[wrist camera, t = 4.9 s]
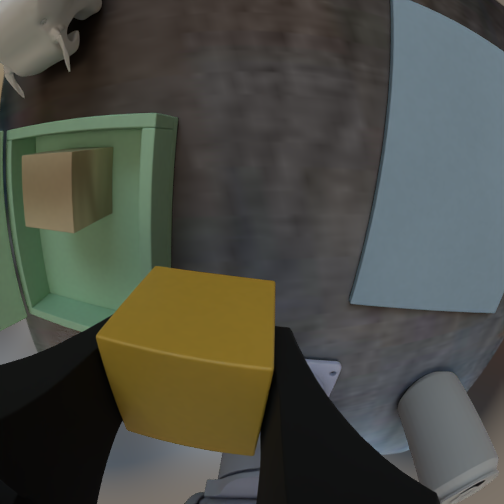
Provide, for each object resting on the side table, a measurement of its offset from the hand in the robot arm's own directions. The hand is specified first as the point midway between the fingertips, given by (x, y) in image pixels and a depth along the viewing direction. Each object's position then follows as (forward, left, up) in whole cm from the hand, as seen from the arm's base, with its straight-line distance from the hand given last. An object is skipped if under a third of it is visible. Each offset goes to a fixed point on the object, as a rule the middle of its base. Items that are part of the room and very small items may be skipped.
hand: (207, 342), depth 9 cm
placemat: (+8, -14, -8) cm, 18 cm away
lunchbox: (+1, +10, -8) cm, 13 cm away
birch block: (+4, +10, -8) cm, 13 cm away
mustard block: (0, 0, -1) cm, 1 cm away
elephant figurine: (+16, +14, -9) cm, 22 cm away
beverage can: (-11, -18, -9) cm, 23 cm away
